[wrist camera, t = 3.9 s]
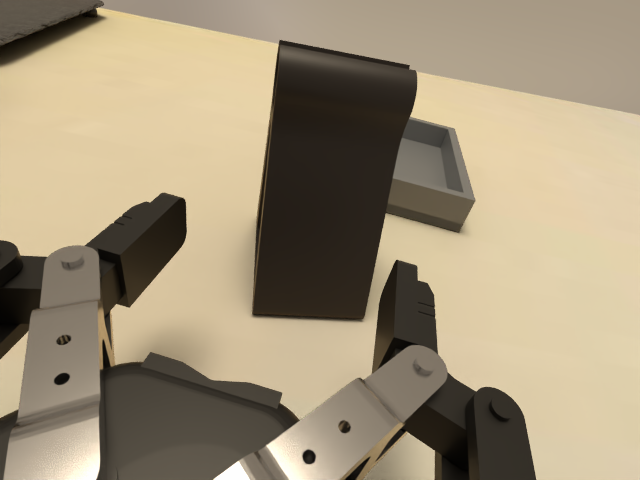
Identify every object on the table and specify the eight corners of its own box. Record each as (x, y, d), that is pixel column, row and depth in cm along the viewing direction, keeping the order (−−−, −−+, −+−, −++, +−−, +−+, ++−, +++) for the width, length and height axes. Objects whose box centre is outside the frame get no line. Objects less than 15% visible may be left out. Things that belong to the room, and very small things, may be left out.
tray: (295, 187, 30) (301, 153, 28) (330, 123, 43) (336, 97, 42) (458, 232, 30) (475, 200, 28) (444, 153, 43) (454, 128, 41)
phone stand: (362, 322, 20) (451, 101, 13) (250, 316, 19) (280, 70, 12) (339, 225, 27) (389, 46, 20) (256, 216, 26) (278, 23, 19)
